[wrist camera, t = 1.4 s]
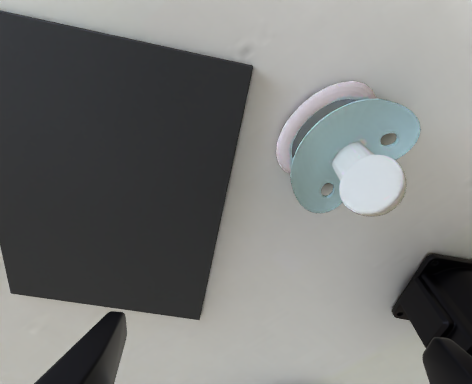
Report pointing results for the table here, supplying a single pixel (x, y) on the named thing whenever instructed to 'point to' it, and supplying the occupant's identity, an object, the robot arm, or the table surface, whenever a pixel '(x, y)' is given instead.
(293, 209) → the table surface
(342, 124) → the pacifier
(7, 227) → the mat
